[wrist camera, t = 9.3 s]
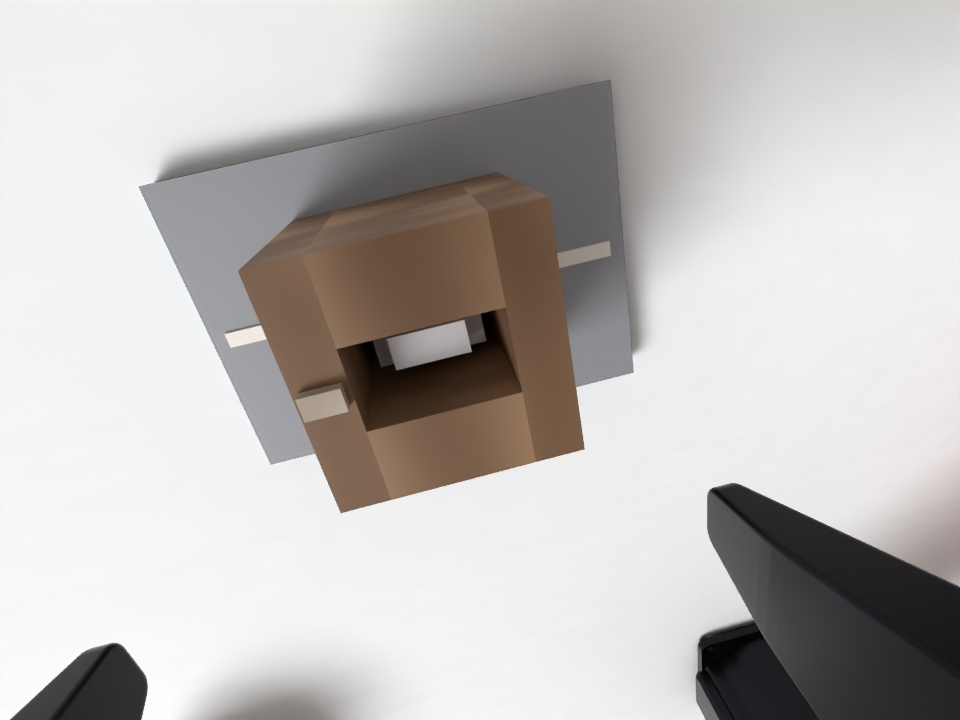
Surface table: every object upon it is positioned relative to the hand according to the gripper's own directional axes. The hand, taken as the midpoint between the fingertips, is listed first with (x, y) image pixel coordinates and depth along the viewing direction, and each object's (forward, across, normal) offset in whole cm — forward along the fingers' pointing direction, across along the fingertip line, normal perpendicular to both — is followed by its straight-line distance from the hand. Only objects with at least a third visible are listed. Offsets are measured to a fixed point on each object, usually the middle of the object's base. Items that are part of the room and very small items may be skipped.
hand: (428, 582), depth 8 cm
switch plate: (+12, -1, -1) cm, 12 cm away
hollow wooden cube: (+11, -1, -1) cm, 11 cm away
